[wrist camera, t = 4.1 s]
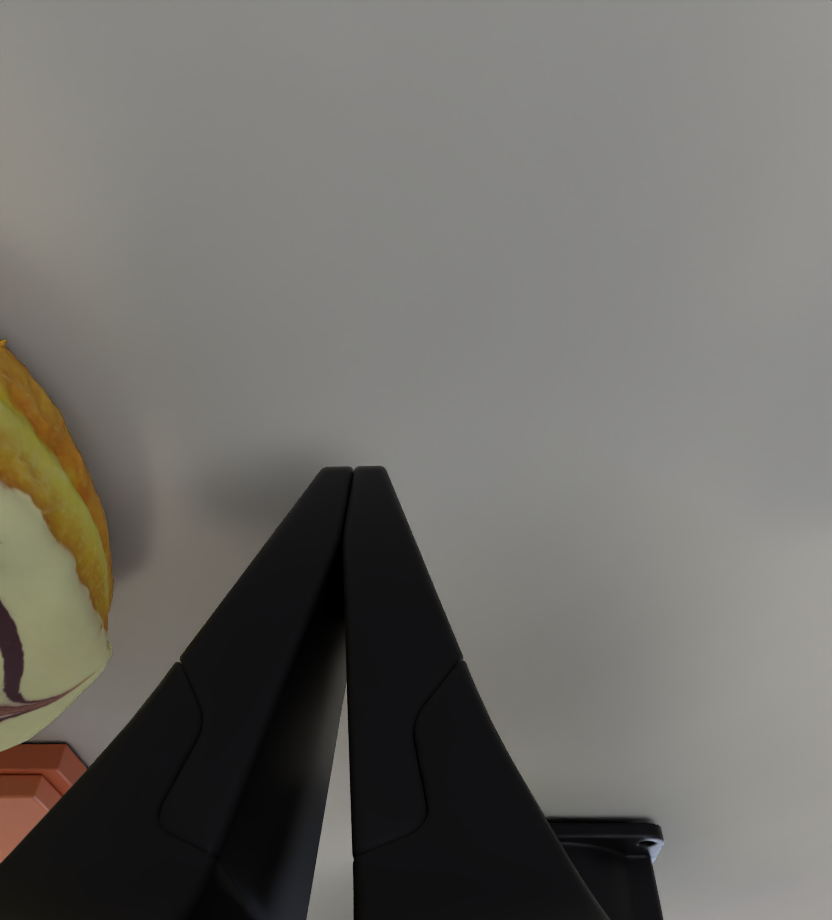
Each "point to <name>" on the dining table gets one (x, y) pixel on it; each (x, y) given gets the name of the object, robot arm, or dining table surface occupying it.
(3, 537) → the decorated donut
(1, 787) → the orange flat bar
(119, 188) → the dining table surface
